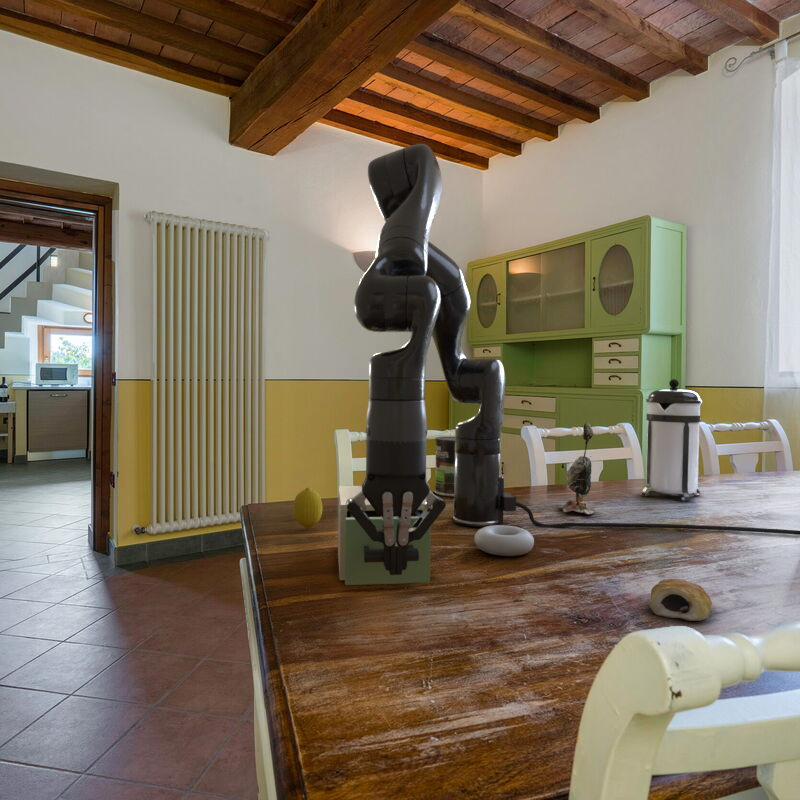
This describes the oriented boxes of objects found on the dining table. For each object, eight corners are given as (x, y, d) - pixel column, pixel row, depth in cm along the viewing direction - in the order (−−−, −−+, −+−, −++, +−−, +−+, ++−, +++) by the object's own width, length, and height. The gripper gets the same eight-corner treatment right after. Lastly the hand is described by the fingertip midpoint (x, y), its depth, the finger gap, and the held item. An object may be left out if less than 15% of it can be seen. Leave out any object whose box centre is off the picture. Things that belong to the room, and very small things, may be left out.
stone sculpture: (600, 508, 130) (603, 421, 129) (591, 518, 120) (593, 424, 119) (565, 504, 134) (566, 419, 133) (552, 513, 124) (554, 422, 123)
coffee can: (446, 498, 139) (447, 440, 139) (427, 490, 149) (428, 437, 148) (482, 495, 143) (483, 439, 143) (462, 488, 153) (463, 436, 152)
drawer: (436, 594, 73) (437, 526, 73) (346, 597, 72) (346, 527, 72) (414, 552, 91) (415, 497, 91) (342, 554, 90) (343, 498, 89)
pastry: (660, 591, 78) (661, 564, 78) (716, 603, 74) (717, 574, 74) (646, 613, 70) (647, 583, 70) (707, 628, 66) (708, 596, 66)
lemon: (316, 534, 105) (316, 491, 105) (288, 532, 106) (288, 489, 106) (326, 526, 110) (326, 485, 110) (299, 524, 112) (299, 484, 111)
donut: (462, 546, 99) (498, 562, 90) (463, 526, 99) (498, 540, 90) (508, 540, 103) (546, 553, 94) (508, 521, 103) (546, 533, 94)
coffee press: (720, 502, 138) (724, 379, 137) (654, 501, 138) (657, 378, 137) (685, 489, 155) (688, 379, 155) (626, 488, 156) (629, 379, 155)
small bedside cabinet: (428, 577, 82) (429, 503, 82) (339, 580, 81) (340, 504, 80) (413, 547, 97) (413, 485, 97) (337, 549, 95) (338, 485, 95)
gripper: (442, 433, 75) (440, 562, 76) (342, 433, 74) (341, 565, 74) (455, 438, 68) (453, 581, 69) (344, 439, 66) (343, 585, 67)
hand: (394, 572), depth 71 cm, fingers closed
